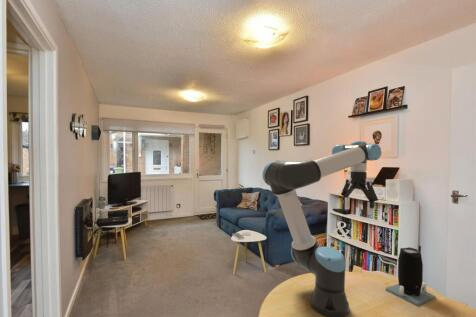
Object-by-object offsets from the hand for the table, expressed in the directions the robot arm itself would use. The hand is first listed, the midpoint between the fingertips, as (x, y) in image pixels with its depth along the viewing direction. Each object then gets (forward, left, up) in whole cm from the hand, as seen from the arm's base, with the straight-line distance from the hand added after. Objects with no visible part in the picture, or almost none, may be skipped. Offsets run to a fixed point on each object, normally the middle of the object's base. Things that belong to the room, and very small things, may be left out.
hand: (358, 211), depth 130 cm
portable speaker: (+9, -21, -34) cm, 41 cm away
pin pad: (+9, -21, -35) cm, 41 cm away
